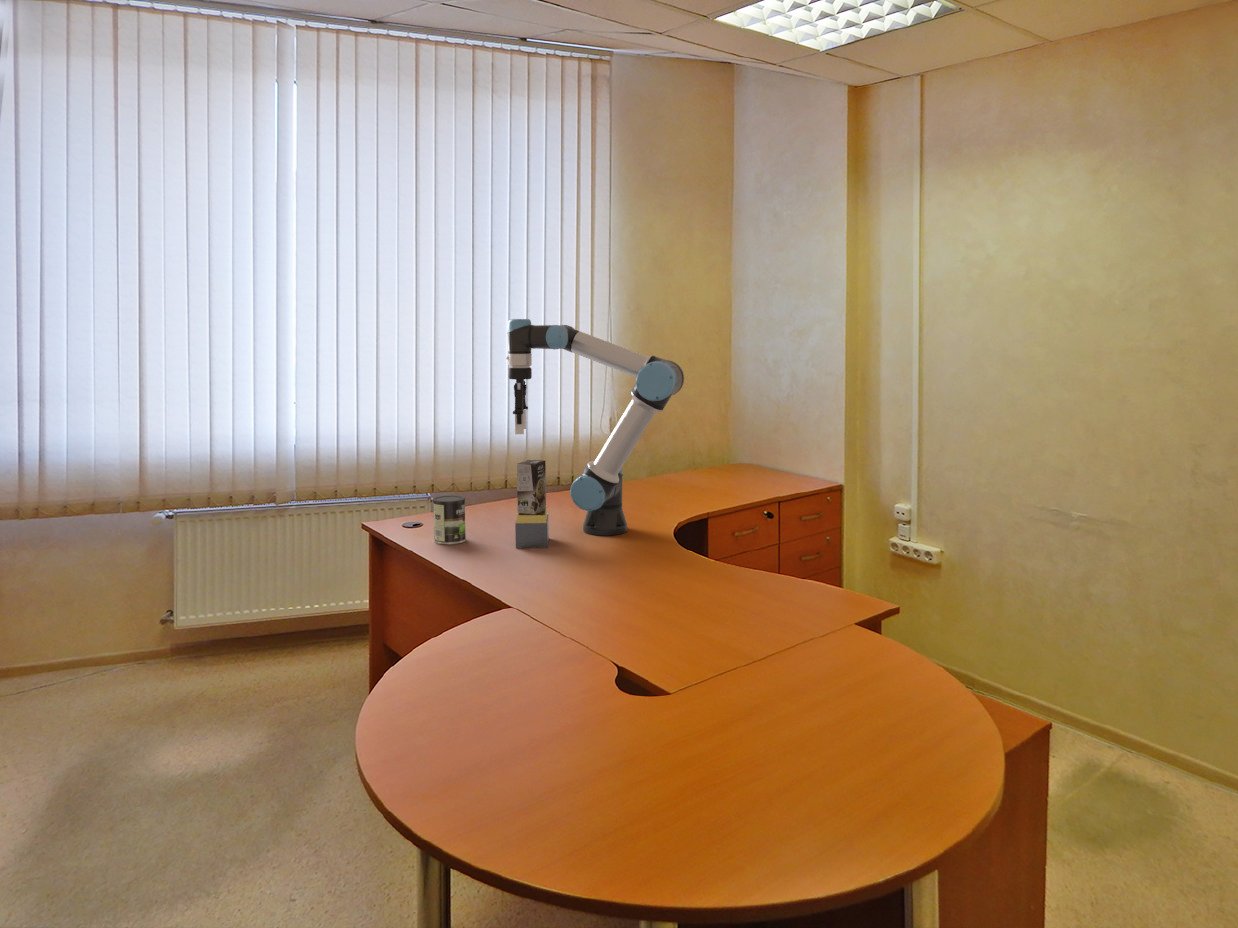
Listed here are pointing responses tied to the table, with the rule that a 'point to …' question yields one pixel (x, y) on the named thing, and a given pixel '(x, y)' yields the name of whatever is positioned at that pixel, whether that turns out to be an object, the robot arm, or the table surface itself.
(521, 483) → the coffee box
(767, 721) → the table surface
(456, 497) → the coffee can
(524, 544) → the grey yellow open box
